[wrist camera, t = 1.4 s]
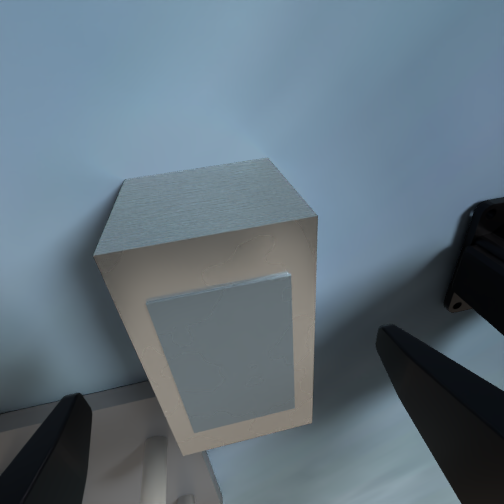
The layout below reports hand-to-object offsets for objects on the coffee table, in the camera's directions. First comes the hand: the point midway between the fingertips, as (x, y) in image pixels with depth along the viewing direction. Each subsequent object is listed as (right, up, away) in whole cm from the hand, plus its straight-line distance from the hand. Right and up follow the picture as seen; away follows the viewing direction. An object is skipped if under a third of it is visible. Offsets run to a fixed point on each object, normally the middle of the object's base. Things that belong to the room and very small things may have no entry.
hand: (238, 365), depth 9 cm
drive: (-1, +3, +4) cm, 5 cm away
